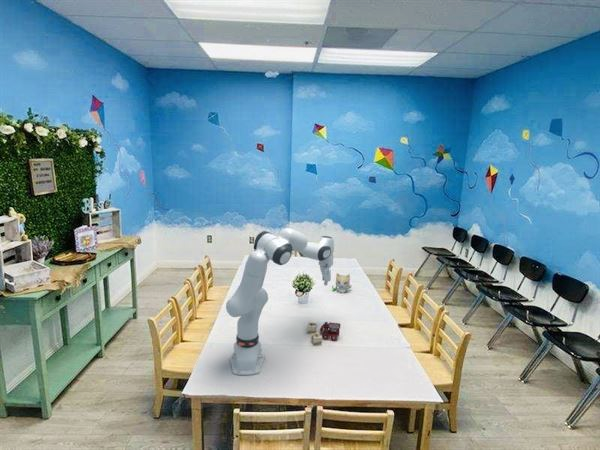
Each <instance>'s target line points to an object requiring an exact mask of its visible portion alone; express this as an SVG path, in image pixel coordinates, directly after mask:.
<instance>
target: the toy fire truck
mask: <svg viewBox="0 0 600 450" xmlns="http://www.w3.org/2000/svg"><path fill="white" fill-rule="evenodd" d="M340 329H341V323H340V322H328V321H325V322H324V323H323V324H322V325H321V327H320V328H319V333H320V335H321V337H322V340H328V339H329V338H330V341H332V342H335V341H337V340H338V338H339V337H340Z"/></svg>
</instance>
